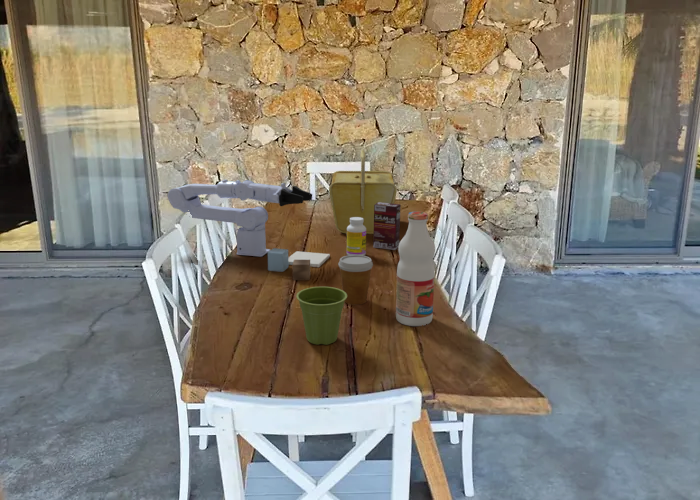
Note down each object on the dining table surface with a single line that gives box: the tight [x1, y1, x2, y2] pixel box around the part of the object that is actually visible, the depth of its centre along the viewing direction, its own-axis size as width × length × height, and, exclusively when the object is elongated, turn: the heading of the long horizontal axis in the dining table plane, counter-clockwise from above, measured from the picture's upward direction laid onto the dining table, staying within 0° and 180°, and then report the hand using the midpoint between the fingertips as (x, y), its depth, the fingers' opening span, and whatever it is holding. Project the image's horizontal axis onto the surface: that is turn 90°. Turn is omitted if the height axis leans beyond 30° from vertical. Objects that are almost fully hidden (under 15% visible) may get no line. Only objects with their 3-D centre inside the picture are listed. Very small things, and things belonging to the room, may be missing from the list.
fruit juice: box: [395, 211, 436, 327], centre depth 158 cm, size 9×9×28 cm
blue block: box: [267, 247, 289, 273], centre depth 201 cm, size 5×5×6 cm
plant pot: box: [296, 286, 347, 346], centre depth 148 cm, size 12×12×11 cm
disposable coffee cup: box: [337, 255, 374, 306], centre depth 173 cm, size 10×10×12 cm
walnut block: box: [292, 260, 311, 281], centre depth 193 cm, size 5×5×5 cm
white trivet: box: [288, 250, 331, 268], centre depth 210 cm, size 12×12×1 cm
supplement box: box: [372, 202, 402, 251], centre depth 224 cm, size 9×5×16 cm, turn 68°
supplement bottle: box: [346, 217, 367, 256], centre depth 215 cm, size 7×7×13 cm
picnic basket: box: [328, 148, 398, 235], centre depth 252 cm, size 29×26×30 cm
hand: (307, 198), depth 206 cm, fingers open, 7 cm apart
